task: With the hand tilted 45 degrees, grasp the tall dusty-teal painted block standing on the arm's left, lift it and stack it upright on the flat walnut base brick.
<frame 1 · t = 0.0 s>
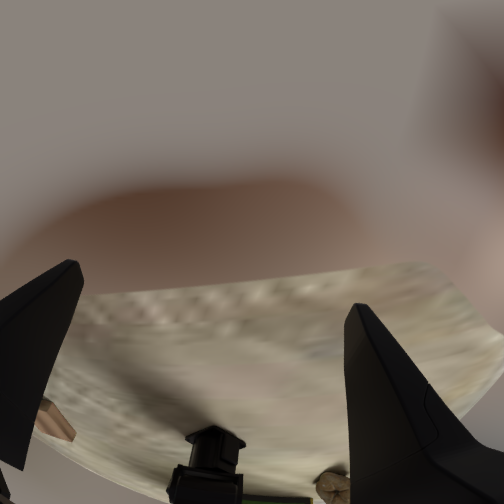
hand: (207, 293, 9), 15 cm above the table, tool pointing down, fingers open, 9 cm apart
diorama: (260, 502, 48), on the table
fossil: (334, 476, 42), on the table
base brick: (49, 414, 39), on the table
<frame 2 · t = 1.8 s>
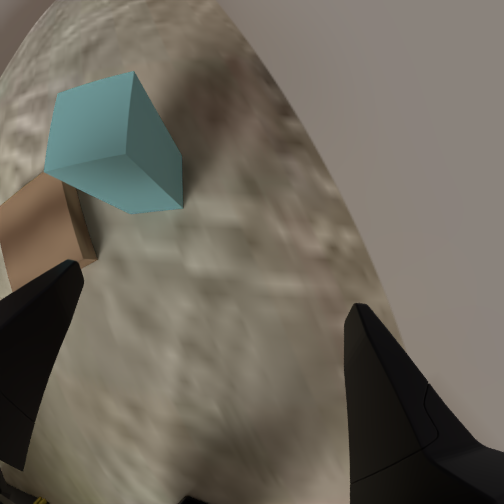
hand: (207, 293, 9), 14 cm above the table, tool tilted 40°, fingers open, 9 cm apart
tall block: (155, 184, 23), on the table
base brick: (47, 234, 23), on the table
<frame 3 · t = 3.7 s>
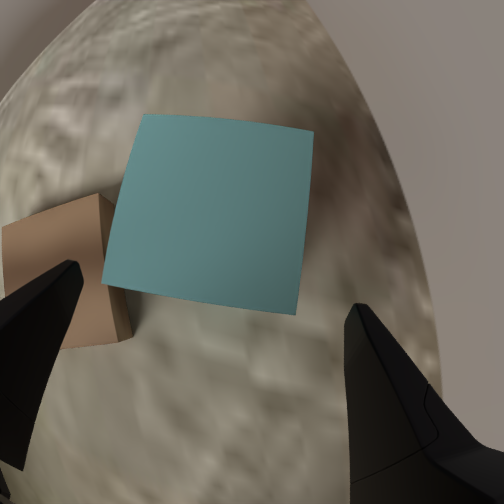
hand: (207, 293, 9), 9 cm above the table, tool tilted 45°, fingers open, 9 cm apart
tall block: (230, 261, 19), on the table
base brick: (66, 280, 18), on the table
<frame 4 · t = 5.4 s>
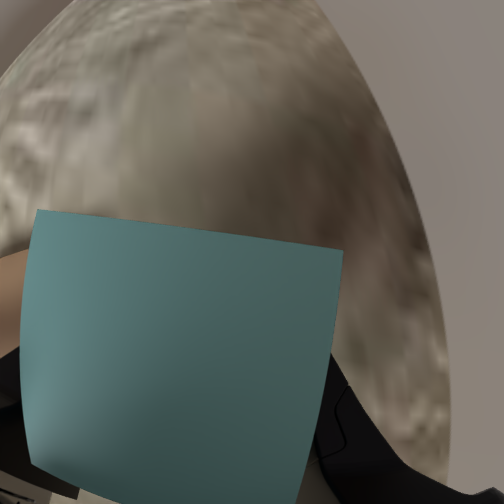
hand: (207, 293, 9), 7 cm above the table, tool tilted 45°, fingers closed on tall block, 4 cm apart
tall block: (218, 320, 15), on the table, touching gripper
base brick: (39, 330, 15), on the table
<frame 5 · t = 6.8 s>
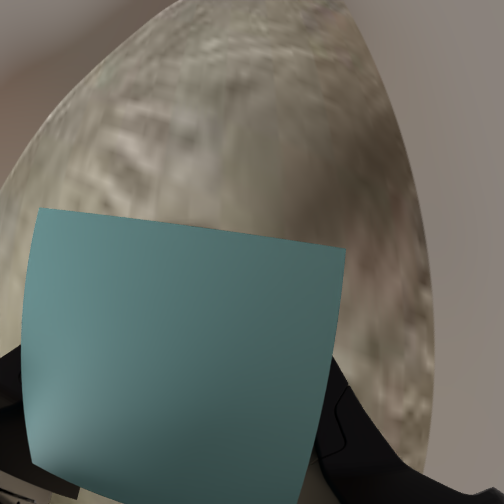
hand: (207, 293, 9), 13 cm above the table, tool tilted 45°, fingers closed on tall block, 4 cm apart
tall block: (219, 319, 15), point 7 cm above the table, touching gripper
when the fingers open (10 cm above the table, at t = 8.5 s): tall block stays where it is, resting on base brick.
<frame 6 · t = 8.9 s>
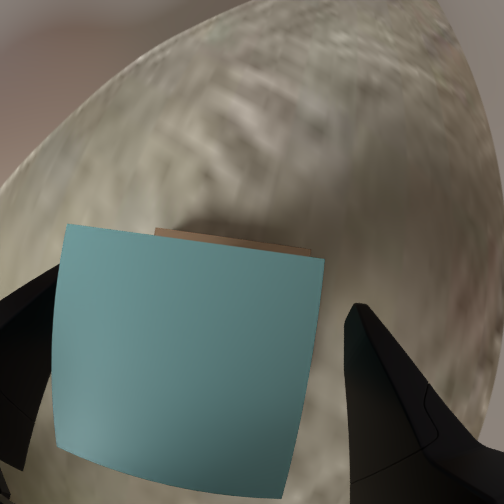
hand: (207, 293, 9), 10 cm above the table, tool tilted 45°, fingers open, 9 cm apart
tall block: (220, 318, 16), point 2 cm above the table, touching base brick
base brick: (223, 315, 19), on the table
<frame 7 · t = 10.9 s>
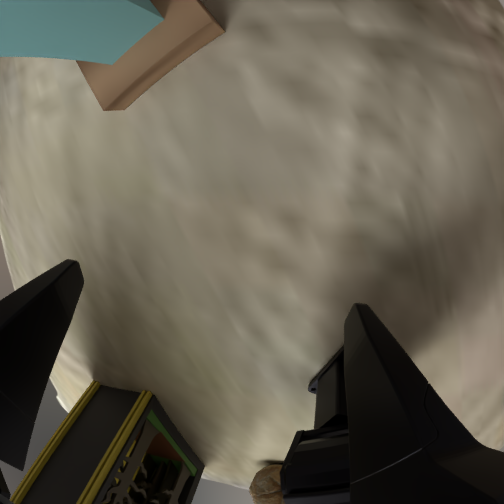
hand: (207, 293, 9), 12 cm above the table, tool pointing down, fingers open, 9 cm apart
diorama: (152, 430, 37), on the table
fossil: (288, 469, 34), on the table
tall block: (123, 21, 13), point 2 cm above the table, touching base brick
base brick: (142, 29, 16), on the table
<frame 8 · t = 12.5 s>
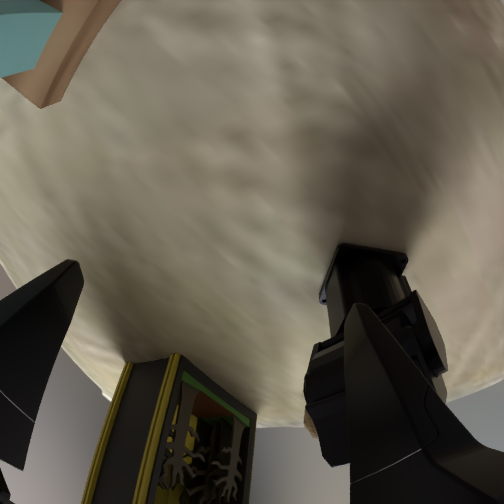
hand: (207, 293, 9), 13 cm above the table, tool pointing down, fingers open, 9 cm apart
diorama: (195, 393, 41), on the table
tall block: (30, 30, 11), point 2 cm above the table, touching base brick
base brick: (51, 29, 13), on the table
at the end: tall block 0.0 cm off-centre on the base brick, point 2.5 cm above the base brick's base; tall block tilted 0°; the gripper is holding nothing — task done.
